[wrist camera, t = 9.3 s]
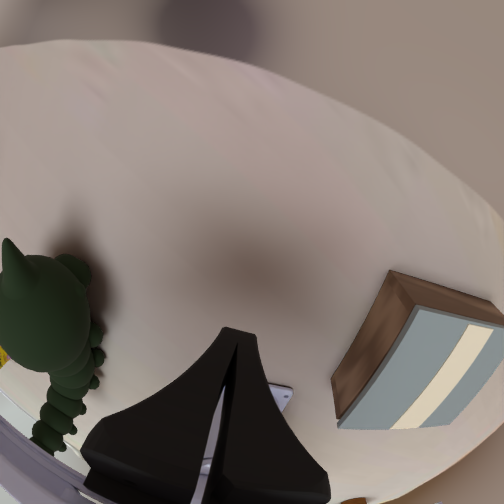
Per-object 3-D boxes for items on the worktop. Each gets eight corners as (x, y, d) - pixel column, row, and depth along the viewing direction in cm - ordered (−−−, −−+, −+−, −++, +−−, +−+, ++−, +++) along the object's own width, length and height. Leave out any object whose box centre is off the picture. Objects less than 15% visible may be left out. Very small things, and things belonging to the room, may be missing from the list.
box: (433, 387, 23) (446, 417, 19) (330, 378, 23) (336, 419, 19) (490, 301, 19) (515, 327, 14) (389, 269, 19) (415, 303, 14)
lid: (447, 420, 18) (449, 425, 17) (337, 423, 18) (337, 429, 18) (516, 328, 14) (520, 332, 13) (415, 304, 14) (420, 310, 13)
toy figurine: (123, 387, 30) (125, 213, 19) (68, 499, 13) (-77, 404, 2) (68, 356, 30) (46, 184, 18) (5, 452, 13) (-121, 293, 1)
